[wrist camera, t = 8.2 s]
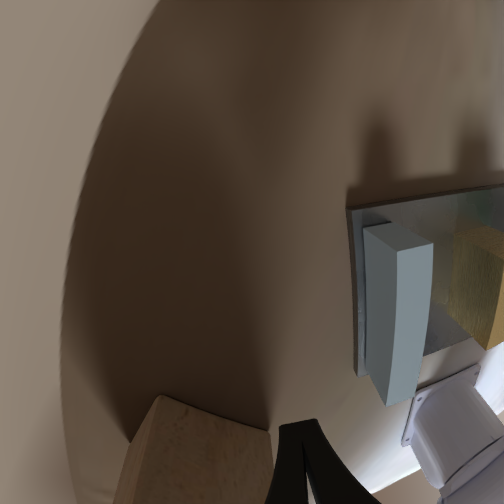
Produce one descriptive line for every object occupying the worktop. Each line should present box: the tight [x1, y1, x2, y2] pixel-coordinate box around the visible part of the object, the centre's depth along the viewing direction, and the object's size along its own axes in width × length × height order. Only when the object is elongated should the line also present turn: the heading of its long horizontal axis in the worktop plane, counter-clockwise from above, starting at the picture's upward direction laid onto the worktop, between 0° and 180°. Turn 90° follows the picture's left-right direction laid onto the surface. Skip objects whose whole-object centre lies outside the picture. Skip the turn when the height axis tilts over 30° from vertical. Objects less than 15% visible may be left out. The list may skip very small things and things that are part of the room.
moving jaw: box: [363, 222, 433, 407], centre depth 15 cm, size 10×2×4 cm, turn 11°
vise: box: [346, 184, 504, 377], centre depth 16 cm, size 12×18×5 cm, turn 101°
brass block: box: [447, 226, 504, 351], centre depth 15 cm, size 6×4×5 cm, turn 11°
